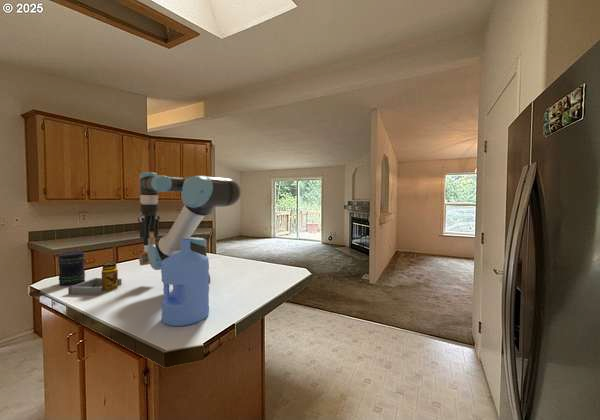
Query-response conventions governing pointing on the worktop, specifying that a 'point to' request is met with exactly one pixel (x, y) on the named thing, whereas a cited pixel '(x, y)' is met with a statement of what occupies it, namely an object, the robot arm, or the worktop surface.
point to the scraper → (144, 257)
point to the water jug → (185, 287)
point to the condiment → (109, 277)
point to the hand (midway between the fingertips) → (149, 250)
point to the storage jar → (71, 268)
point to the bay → (88, 287)
